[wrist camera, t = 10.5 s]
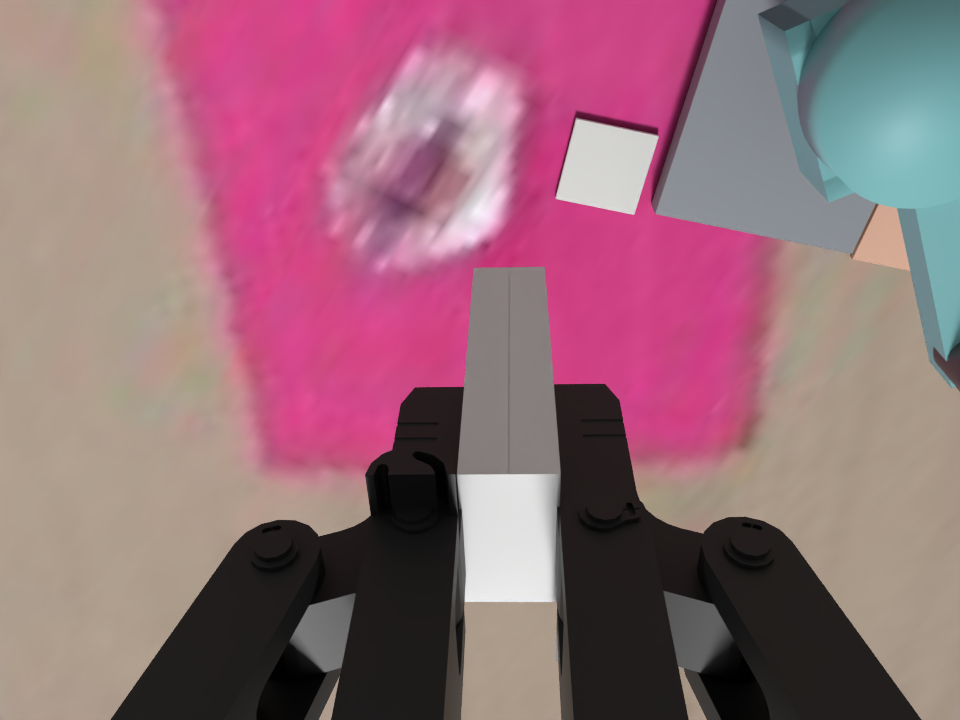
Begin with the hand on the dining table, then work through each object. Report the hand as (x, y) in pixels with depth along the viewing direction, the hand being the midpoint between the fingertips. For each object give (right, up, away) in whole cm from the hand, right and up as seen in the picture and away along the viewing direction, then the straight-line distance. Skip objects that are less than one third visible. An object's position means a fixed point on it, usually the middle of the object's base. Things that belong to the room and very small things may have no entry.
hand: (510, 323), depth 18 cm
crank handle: (+18, +8, +19) cm, 28 cm away
